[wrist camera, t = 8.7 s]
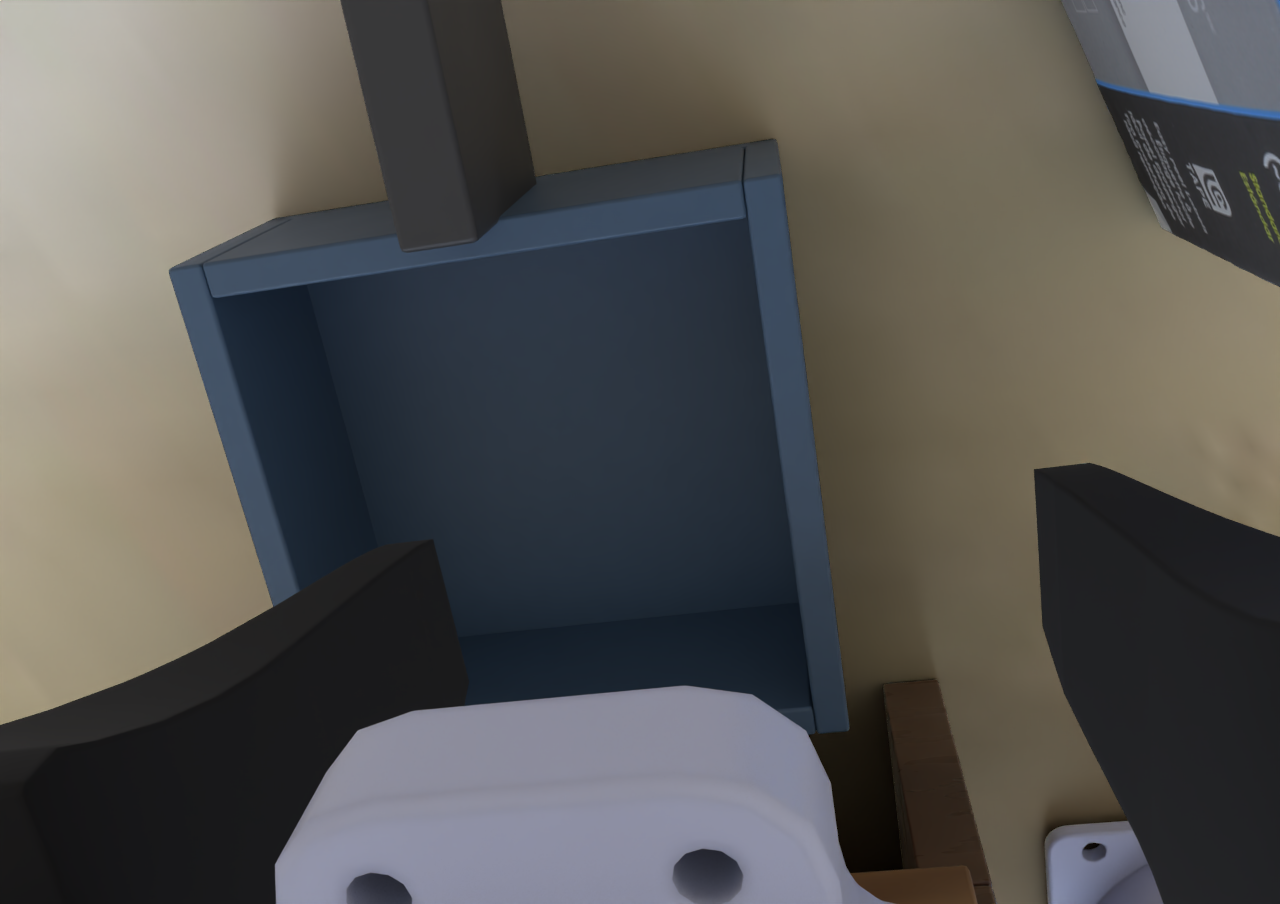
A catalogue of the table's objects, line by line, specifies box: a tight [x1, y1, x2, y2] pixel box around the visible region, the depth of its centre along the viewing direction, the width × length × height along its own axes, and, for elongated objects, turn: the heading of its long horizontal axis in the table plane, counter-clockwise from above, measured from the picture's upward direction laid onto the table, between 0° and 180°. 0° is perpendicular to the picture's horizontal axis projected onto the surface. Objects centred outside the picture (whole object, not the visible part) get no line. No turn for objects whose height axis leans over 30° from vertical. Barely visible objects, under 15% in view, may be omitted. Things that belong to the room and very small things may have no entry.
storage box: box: [169, 0, 850, 735], centre depth 20 cm, size 10×16×6 cm, turn 10°
